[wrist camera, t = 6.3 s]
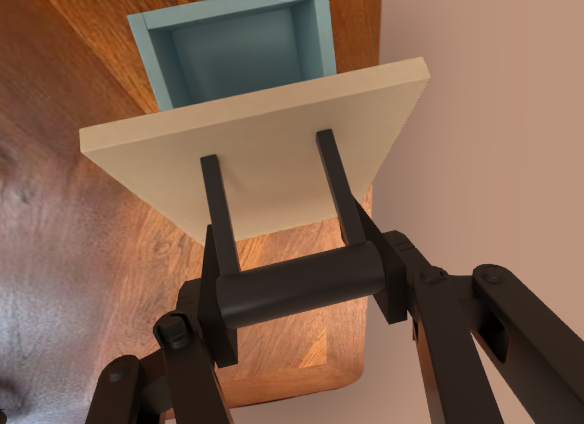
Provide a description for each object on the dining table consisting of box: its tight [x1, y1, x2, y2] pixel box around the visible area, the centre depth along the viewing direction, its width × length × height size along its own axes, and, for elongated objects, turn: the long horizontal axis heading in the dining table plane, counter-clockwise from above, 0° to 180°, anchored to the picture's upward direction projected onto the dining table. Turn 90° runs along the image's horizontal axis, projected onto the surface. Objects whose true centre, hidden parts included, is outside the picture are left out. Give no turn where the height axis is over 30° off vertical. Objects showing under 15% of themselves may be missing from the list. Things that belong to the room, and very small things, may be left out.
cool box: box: [127, 0, 337, 112], centre depth 31 cm, size 17×13×11 cm
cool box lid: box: [79, 56, 431, 331], centre depth 20 cm, size 18×13×8 cm
